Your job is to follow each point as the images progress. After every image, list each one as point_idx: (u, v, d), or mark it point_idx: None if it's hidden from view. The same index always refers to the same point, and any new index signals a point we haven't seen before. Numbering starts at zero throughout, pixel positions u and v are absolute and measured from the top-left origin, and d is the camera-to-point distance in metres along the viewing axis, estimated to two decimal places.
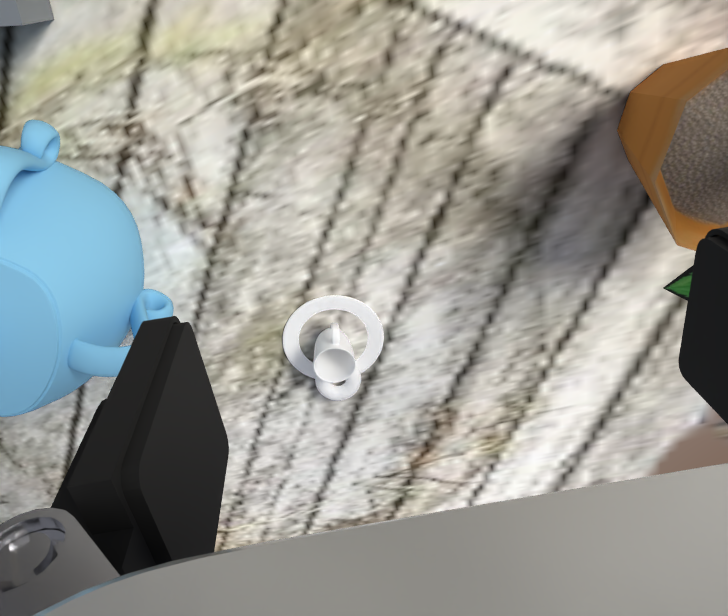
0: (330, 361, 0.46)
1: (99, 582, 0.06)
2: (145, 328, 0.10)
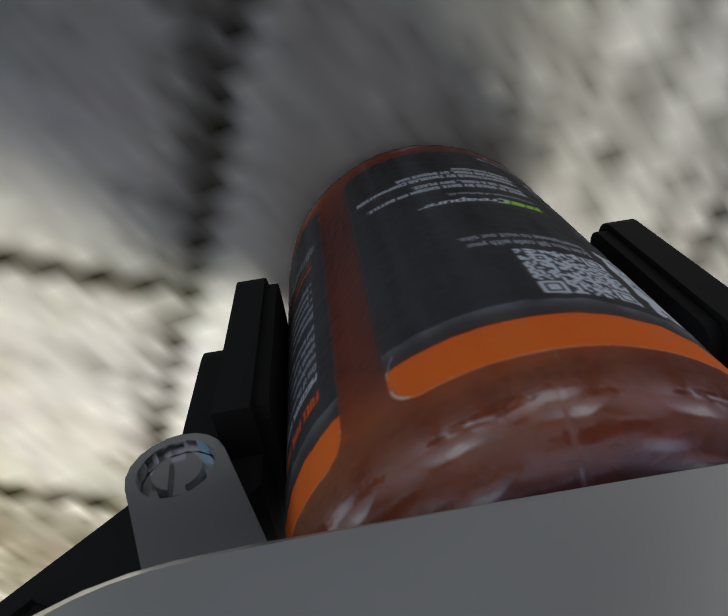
0: None
1: (235, 512, 0.06)
2: (242, 288, 0.10)
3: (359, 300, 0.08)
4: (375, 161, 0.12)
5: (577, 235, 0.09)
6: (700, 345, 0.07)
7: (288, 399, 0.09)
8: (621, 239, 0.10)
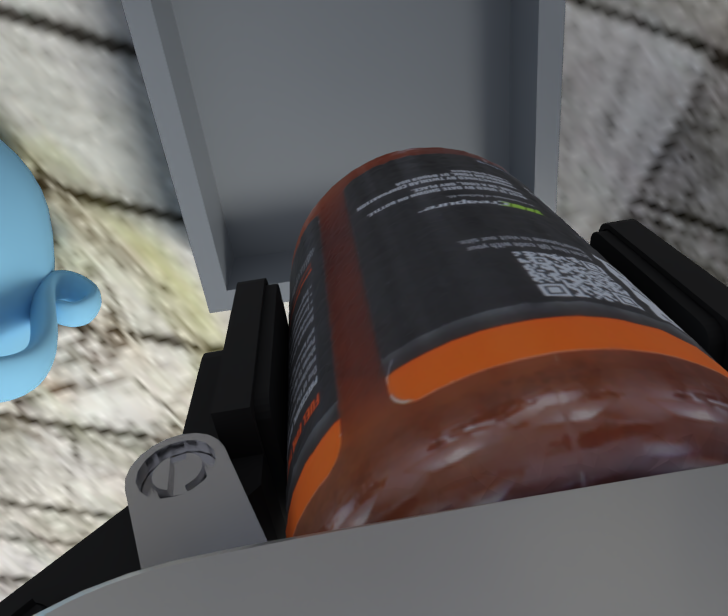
0: None
1: (236, 511, 0.06)
2: (242, 288, 0.10)
3: (359, 302, 0.08)
4: (375, 163, 0.12)
5: (577, 237, 0.09)
6: (700, 348, 0.07)
7: (288, 401, 0.09)
8: (621, 239, 0.10)
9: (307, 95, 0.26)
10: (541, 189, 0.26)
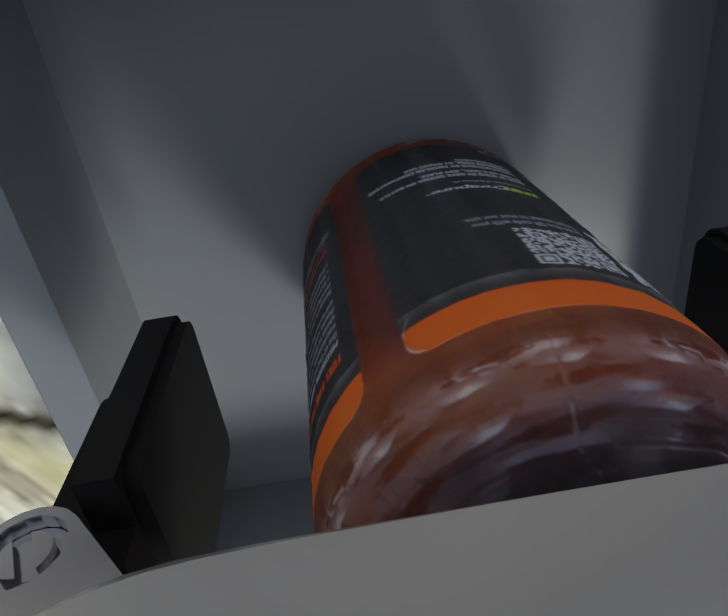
0: None
1: (101, 580, 0.06)
2: (147, 327, 0.10)
3: (374, 275, 0.09)
4: (383, 153, 0.13)
5: (570, 218, 0.10)
6: (677, 310, 0.07)
7: (308, 367, 0.10)
8: None
9: None
10: None
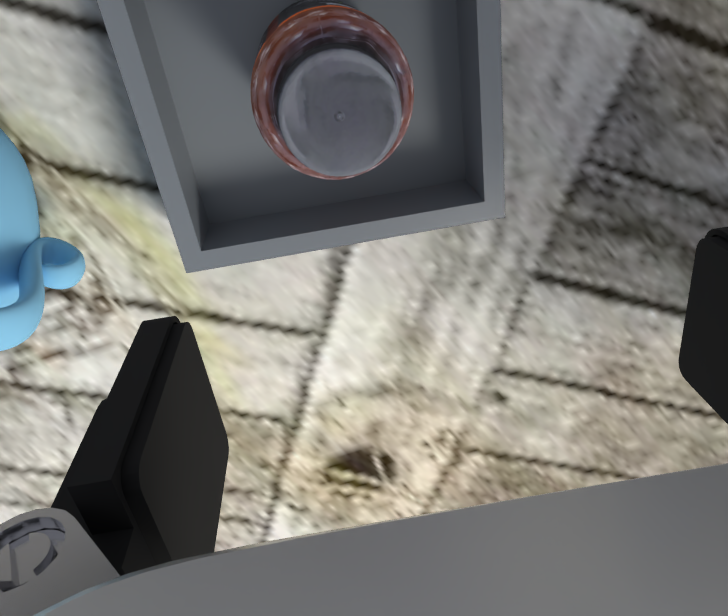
0: None
1: (99, 582, 0.06)
2: (145, 328, 0.10)
3: (276, 25, 0.22)
4: (293, 3, 0.26)
5: None
6: None
7: None
8: None
9: None
10: (488, 147, 0.28)
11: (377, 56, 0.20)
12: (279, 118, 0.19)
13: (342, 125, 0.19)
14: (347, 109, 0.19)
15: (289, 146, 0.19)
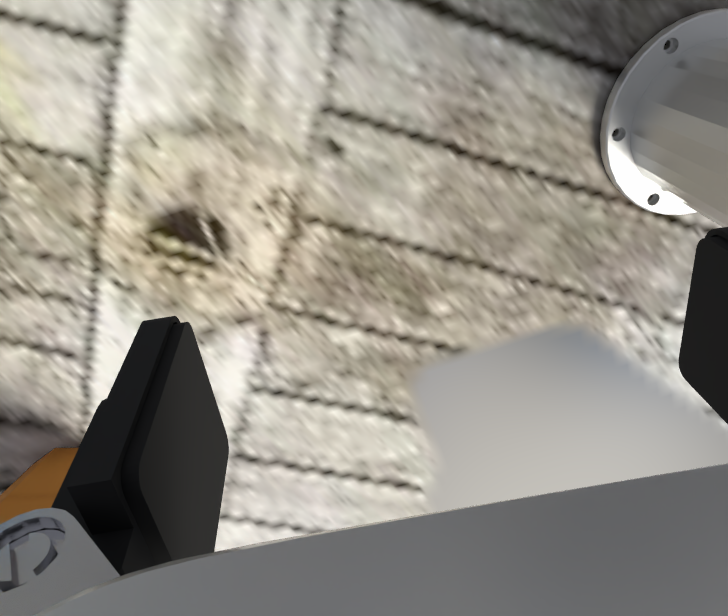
0: None
1: (100, 582, 0.06)
2: (145, 328, 0.10)
3: None
4: None
5: None
6: None
7: None
8: None
9: None
10: None
11: None
12: None
13: None
14: None
15: None
